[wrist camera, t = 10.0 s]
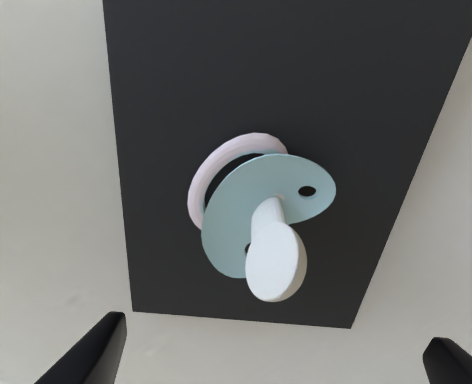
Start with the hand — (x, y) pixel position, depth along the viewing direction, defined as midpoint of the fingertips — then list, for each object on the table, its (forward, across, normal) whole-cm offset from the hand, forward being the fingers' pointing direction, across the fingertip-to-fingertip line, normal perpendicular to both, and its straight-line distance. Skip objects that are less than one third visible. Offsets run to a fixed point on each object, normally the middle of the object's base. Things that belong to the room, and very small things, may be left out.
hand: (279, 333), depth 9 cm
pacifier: (+8, +1, 0) cm, 9 cm away
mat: (+9, 0, 0) cm, 9 cm away
